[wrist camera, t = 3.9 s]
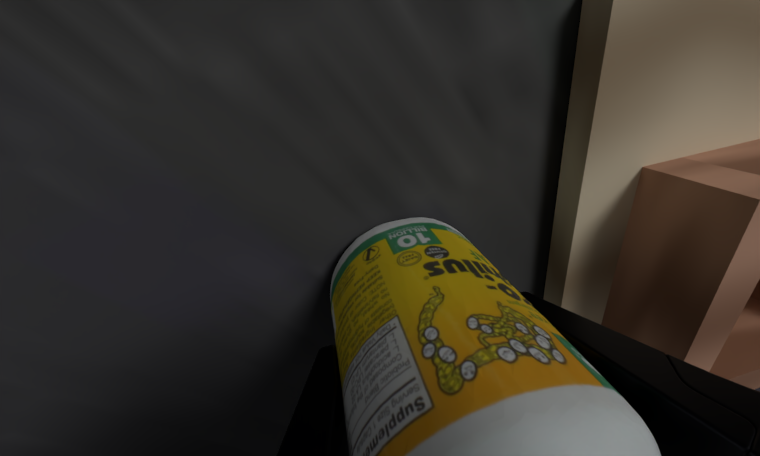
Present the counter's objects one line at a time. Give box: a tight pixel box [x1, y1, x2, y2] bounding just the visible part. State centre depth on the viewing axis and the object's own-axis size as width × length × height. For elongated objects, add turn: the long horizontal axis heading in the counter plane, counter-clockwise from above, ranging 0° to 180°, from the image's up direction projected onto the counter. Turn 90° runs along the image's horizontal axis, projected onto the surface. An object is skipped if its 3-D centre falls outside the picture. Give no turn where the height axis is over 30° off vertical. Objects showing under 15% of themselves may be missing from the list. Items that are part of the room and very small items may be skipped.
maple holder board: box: [543, 0, 760, 389], centre depth 12 cm, size 20×14×4 cm
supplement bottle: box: [330, 217, 661, 456], centre depth 7 cm, size 5×5×10 cm
